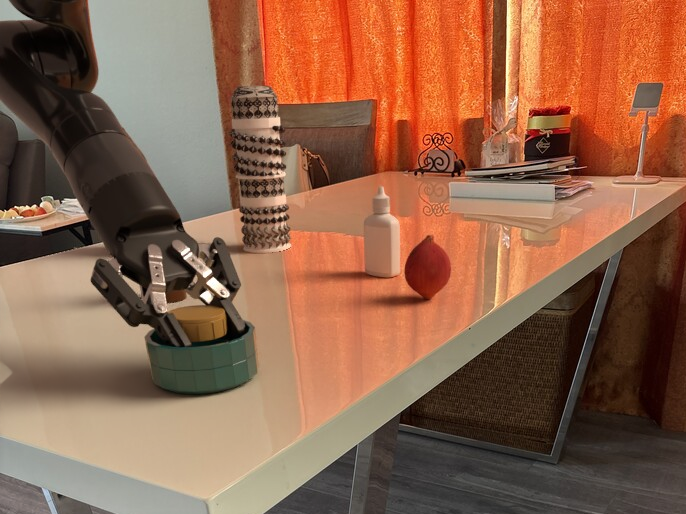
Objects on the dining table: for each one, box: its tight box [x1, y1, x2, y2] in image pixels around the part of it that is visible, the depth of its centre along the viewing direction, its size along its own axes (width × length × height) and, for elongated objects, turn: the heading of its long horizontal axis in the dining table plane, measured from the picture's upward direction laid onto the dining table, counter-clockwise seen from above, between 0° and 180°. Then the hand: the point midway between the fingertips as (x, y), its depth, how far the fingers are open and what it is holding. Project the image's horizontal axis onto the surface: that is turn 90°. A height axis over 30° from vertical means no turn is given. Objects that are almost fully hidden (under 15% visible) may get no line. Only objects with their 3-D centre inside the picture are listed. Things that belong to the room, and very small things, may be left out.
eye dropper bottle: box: [363, 185, 401, 279], centre depth 102 cm, size 4×6×12 cm
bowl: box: [144, 319, 260, 395], centre depth 67 cm, size 10×10×4 cm
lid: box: [167, 304, 228, 342], centre depth 66 cm, size 5×5×2 cm
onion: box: [403, 233, 452, 300], centre depth 89 cm, size 6×6×8 cm
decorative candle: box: [228, 85, 292, 254], centre depth 120 cm, size 9×9×25 cm
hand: (212, 345), depth 66 cm, fingers closed on lid, 5 cm apart
